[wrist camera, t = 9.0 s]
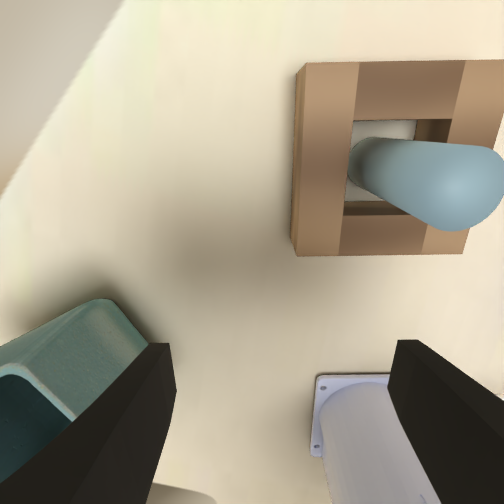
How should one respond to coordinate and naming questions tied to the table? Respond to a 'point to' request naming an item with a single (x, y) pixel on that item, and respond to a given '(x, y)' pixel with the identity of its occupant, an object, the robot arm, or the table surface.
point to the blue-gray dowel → (431, 179)
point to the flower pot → (59, 375)
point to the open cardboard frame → (381, 108)
